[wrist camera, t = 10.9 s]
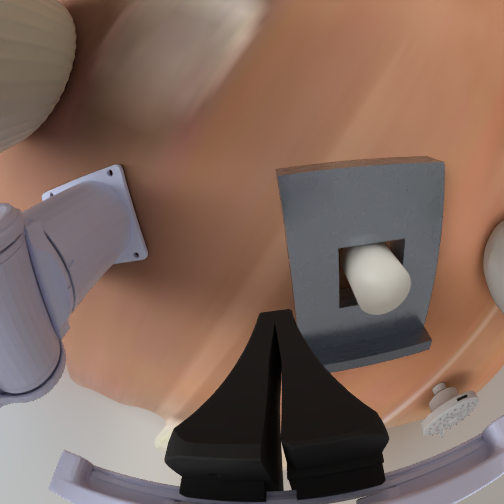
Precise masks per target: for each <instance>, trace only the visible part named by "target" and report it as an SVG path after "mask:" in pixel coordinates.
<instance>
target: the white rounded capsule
mask: <svg viewBox="0 0 504 504" xmlns="http://www.w3.org/2000/svg"><path fill="white" fill-rule="evenodd" d="M340 263H341V266H342V268H343V271H344V273H345V275H346V277H347V279H348V281H349V284H350V286H351V288H352V290H353V293H354V295H355V297H356V299H357V302H358V304H359V306H360V308H361V309H362V310H363V311H364V312H366V313H368V314H372V315H380V314H385V313H388V312H390V311H392V310H394V309H395V308H397V307H398V306H399V305H400V304H401V303H402V302H403V301H404V300H405V298H406V297H407V295H408V293H409V290H410V286H411V279H410V276H409V274H408V272H407V271H406V270H405V268H404V267H403V266H402V264H401V263H400V262H399V261H398V259H397V258H396V257H395V256H394V254H393V253H392V252H391V251H390V249H389V248H388V247H387V246H386V245H385V243H384V242H378V243H371V244H365V245H358V246H351V247H344V248H342V251H341V254H340Z"/></svg>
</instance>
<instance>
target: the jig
mask: <svg viewBox="0 0 504 504" xmlns="http://www.w3.org/2000/svg"><path fill="white" fill-rule="evenodd" d="M276 175H277V181H278V187H279V194H280V200H281V207H282V214H283V220H284V227H285V234H286V242H287V249H288V257H289V264H290V272H291V280H292V288H293V297H294V306H295V314H296V324H297V326H298V328H299V330H300V332H301V334H302V336H303V337H304V339H305V341H306V342H307V344H308V346H309V347H310V349H311V350H312V351H313V353H314V354H315V356H316V357H317V358H318V360H319V361H320V362H321V363H322V365H323V366H324V367H325V368H326V369H327V370H328V371H329V373H331V372H337V371H342V370H348V369H353V368H358V367H363V366H367V365H372V364H376V363H380V362H385V361H389V360H393V359H397V358H400V357H404V356H408V355H411V354H415V353H418V352H422V351H425V350H428V349H429V348H430V345H431V342H432V339H431V337H430V336H429V334H428V332H427V331H426V329H425V327H424V323H425V319H426V315H427V311H428V307H429V303H430V298H431V294H432V289H433V284H434V279H435V273H436V267H437V261H438V254H439V247H440V239H441V230H442V219H443V205H444V162H442V161H439V160H436V159H433V158H430V157H427V156H425V157H396V158H378V159H364V160H352V161H341V162H331V163H321V164H312V165H304V166H296V167H289V168H282V169H276ZM385 241H391V252H392V253H393V254H394V256H395V257H396V258H397V259H398V261H399V262H400V263H401V264H402V266H403V267H404V268H405V270H406V271H407V272H408V274H409V276H410V279H411V286H410V290H409V293H408V295H407V297H406V298H405V300H404V301H403V302H402V303H401V304H400V305H399V306H398V307H397V308H395V309H394V310H392V311H390V312H388V313H385V314H380V315H372V314H368V313H366V312H364V311H363V310H362V309H361V308H360V306H359V304H358V302H357V299H356V297H355V295H354V293H353V290H352V288H351V287H350V288H344V289H339V256H338V248H344V247H351V246H358V245H365V244H371V243H378V242H385Z"/></svg>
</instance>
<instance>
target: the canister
mask: <svg viewBox="0 0 504 504" xmlns="http://www.w3.org/2000/svg"><path fill="white" fill-rule="evenodd" d="M75 29H76V28H75V24H74V23H73V18H72V16H71V15H70V13H69V12H68V10H67V8H66V7H65V6H64V5H62V4H61V3H60V2H59V1H57V0H0V153H1V152H3V151H5V150H7V149H9V148H11V147H12V146H14V145H16V144H18V143H19V142H21V141H23V140H25V139H26V138H27V137H29V136H30V135H31V134H32V133H33V132H35V131H36V130H37V129H38V128H39V127H40V125H41V124H42V123H44V122H45V121H46V119H47V117H48V115H49V114H50V113H51V112H52V111H53V110H54V107H55V105H56V104H57V103H58V102H59V100H60V96H61V94H62V93H63V92H64V90H65V85H66V83H67V81H68V80H69V75H70V72H71V70H72V64H73V60H74V59H75V49H76V47H77V46H76V38H77V36H76V33H75Z"/></svg>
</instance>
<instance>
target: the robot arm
mask: <svg viewBox="0 0 504 504" xmlns="http://www.w3.org/2000/svg"><path fill="white" fill-rule="evenodd" d="M110 170H112V172H113V175H111V174H110ZM52 193H53V195H54V196H53V195H52ZM42 200H43V201H42V202H40V203H38V204H36V205H34V206H33V207H31V208H29V209H27V210H25V211H24V212H22V211H21V210H19V209H17V208H15V207H13V206H12V205H10V204H7V203H0V407H2V406H4V405H7V404H11V403H24V402H30V401H34V400H36V399H38V398H41V397H42V396H44V395H45V394H47V393H48V392H49V391H50V390H51V389H53V387H54V386H55V385H56V384H57V383H58V381H59V379H60V378H61V376H62V373H63V371H64V368H65V364H66V354H65V349H64V345H63V343H62V341H61V340H62V338H63V337H64V336H65V334H66V333H67V331H68V330H69V329H70V327H69V323H68V319H69V316H70V314H71V313H72V312H73V311H74V309H75V308H76V307H77V306H78V304H79V303H80V302H81V301H82V300H83V298H84V297H85V296H86V295H87V293H88V292H89V291H90V290H91V289H92V287H93V286H94V285H95V284H96V283H97V282H98V280H99V279H100V278H101V277H102V276H103V275H104V274H105V272H106V271H107V270H108V269H109V268H110V267H111V266H112V265H113V264H119V263H125V262H131V261H138V260H144V259H146V258H147V256H148V250H147V247H146V244H145V241H144V239H143V236H142V233H141V229H140V226H139V223H138V220H137V217H136V214H135V211H134V207H133V204H132V201H131V197H130V194H129V190H128V187H127V183H126V179H125V176H124V172H123V168H122V166H121V165H119V164H115V165H112V166H109V167H107V168H104V169H101V170H98V171H96V172H93V173H90V174H88V175H85V176H83V177H80V178H78V179H75V180H73V181H70V182H68V183H66V184H63V185H61V186H59V187H56V188H54V189H52V190H50V191H47V192H45V193H44V194H43V195H42ZM135 252H136V253H138V254H139V256H137V255H136V254H135ZM281 373H282V422H281V431H280V393H281ZM388 441H389V436H388V433H387V430H386V428H385V425H384V424H383V422H382V420H381V418H380V417H379V415H378V414H377V412H376V411H374V410H373V409H371V408H370V407H368V406H367V405H365V404H364V403H363V402H361V401H360V400H359V399H357V398H356V397H355V396H354V395H353V394H351V393H350V392H349V391H348V390H347V389H346V388H345V387H344V386H342V385H341V384H340V383H339V382H338V381H337V380H336V379H335V378H334V377H333V376H332V375H331V374H330V373H329V371H328V370H327V369H326V368H325V367H324V366H323V365H322V363H321V362H320V361H319V360H318V358H317V357H316V356H315V354H314V353H313V351H312V350H311V349H310V347H309V346H308V344H307V342H306V341H305V339H304V337H303V336H302V334H301V332H300V330H299V328H298V326H297V324H296V322H295V320H294V317H293V314H292V311H291V310H290V309H286V310H278V311H270V312H262V313H260V314H259V316H258V319H257V322H256V325H255V328H254V330H253V333H252V335H251V337H250V339H249V341H248V343H247V345H246V347H245V349H244V351H243V353H242V355H241V356H240V358H239V360H238V362H237V363H236V365H235V366H234V368H233V369H232V371H231V372H230V374H229V375H228V376H227V378H226V379H225V381H224V382H223V383H222V384H221V385H220V387H219V388H218V389H217V390H216V391H215V393H214V394H213V395H212V396H211V397H210V398H209V399H208V400H207V401H206V402H205V403H204V404H203V405H202V406H201V407H200V408H199V409H198V410H197V411H195V412H194V413H193V414H192V415H191V416H189V417H188V418H187V419H186V420H184V421H183V422H182V423H181V424H179V425H178V426H177V427H175V428H174V430H173V432H172V435H171V437H170V440H169V442H168V446H167V451H166V455H165V463H166V464H167V465H168V466H169V467H170V468H171V469H172V470H174V471H175V472H176V473H178V474H179V475H181V476H182V479H181V485H180V486H173V485H167V484H162V483H156V482H152V481H147V480H143V479H139V478H134V477H130V476H127V475H123V474H120V473H116V472H113V471H109V470H106V469H103V468H100V467H97V466H94V465H93V464H92V463H90V462H89V461H88V460H86V459H84V458H82V457H80V456H78V455H75V454H73V453H71V452H68V451H66V450H63V452H62V455H61V457H60V460H59V462H58V465H57V467H56V470H55V472H54V475H53V478H52V481H51V484H50V486H49V490H50V491H52V492H54V493H55V494H57V495H59V496H61V497H62V498H64V499H66V500H68V501H70V502H72V503H74V504H329V503H335V502H341V501H346V500H351V499H356V498H360V497H363V498H360V499H358V500H357V501H356V503H357V504H455V503H457V502H459V501H461V500H463V499H465V498H467V497H468V496H470V495H472V494H474V493H475V492H477V491H479V490H480V489H482V488H483V487H485V486H487V485H488V484H490V483H491V482H493V481H494V480H496V479H497V478H499V477H500V476H501V475H503V474H504V415H503V416H501V417H500V418H498V419H496V420H495V421H493V422H492V423H491V424H490V425H488V426H487V427H486V428H485V429H484V431H483V432H482V433H481V434H479V435H477V436H475V437H474V438H472V439H470V440H468V441H466V442H464V443H462V444H460V445H458V446H456V447H454V448H452V449H449V450H447V451H445V452H443V453H440V454H438V455H436V456H433V457H431V458H428V459H426V460H423V461H421V462H418V463H416V464H413V465H410V466H407V467H404V468H401V469H398V470H395V471H392V472H388V473H384V469H383V464H382V463H383V462H384V459H383V454H382V451H383V449H384V448H385V447H386V445H387V443H388ZM281 442H282V446H283V450H284V453H285V457H286V461H287V479H288V480H289V482H290V485H291V488H292V490H289V491H284V490H283V471H282V452H281ZM364 496H366V497H364Z"/></svg>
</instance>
